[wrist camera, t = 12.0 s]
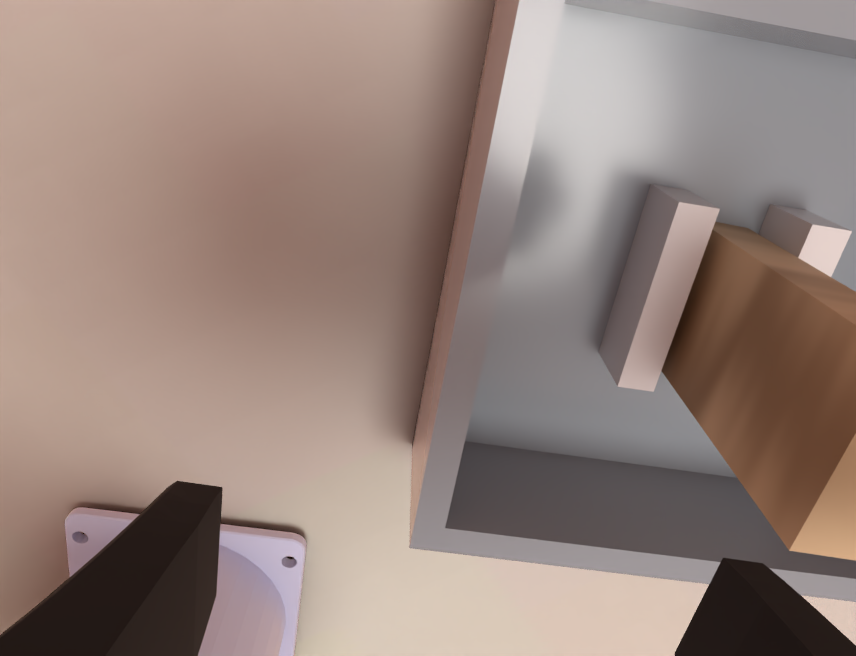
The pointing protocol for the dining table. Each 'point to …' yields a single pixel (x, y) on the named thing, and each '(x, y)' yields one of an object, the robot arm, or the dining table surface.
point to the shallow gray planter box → (623, 276)
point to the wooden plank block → (775, 384)
